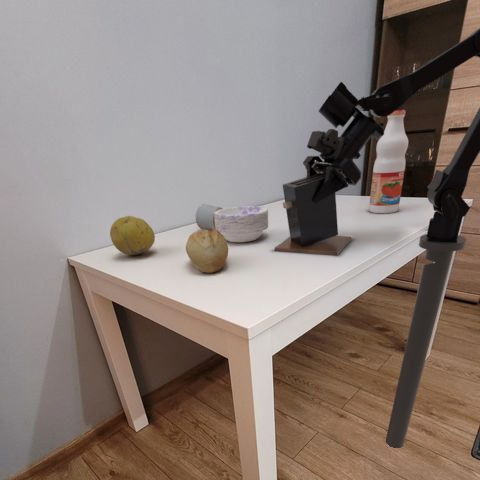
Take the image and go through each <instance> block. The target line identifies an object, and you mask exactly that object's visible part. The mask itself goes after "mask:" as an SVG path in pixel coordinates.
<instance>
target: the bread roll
mask: <svg viewBox="0 0 480 480" xmlns="http://www.w3.org/2000/svg"><path fill="white" fill-rule="evenodd" d="M185 252H186V254H187V256H188V258H189V260H190V262H191V263H192V265H194V267H196V269H198V270H199V271H200V272H203V273H207V274H208V273H215V272H217V271H220V270H221V269H222V268H223V267H224V266H225V263H226V262H227V259H228V255H229V245H228V241H227V240H226V239H225V238H224V236H223V234H222V232H219V231H218V230H216V229H212V228H211V229H210V230H206V229H200V230H197V231H194V232H192V233H191V234H190V235H189V236H188V238H187V241H186V244H185Z"/></svg>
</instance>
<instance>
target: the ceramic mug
mask: <svg viewBox="0 0 480 480" xmlns="http://www.w3.org/2000/svg"><path fill="white" fill-rule="evenodd" d="M221 209H224V207H221V206H217V205H211V204H206V203H205V204H201V205H199V206H198V207H197V209H196V211H195V222H196V225H197V227H198V228H199V229H200V230H203V229H206V230H209V231H210V229H211V228H212V229H216V227H215V216H214V213H215V212H216V211H218V210H221Z"/></svg>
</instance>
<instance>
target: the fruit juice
mask: <svg viewBox="0 0 480 480" xmlns="http://www.w3.org/2000/svg"><path fill="white" fill-rule="evenodd" d="M406 112H407V111H406V109H402V110H401V109H399V110H398V109H397V110H395V111H394V112H393V113H392V114H390V115H388V116H386V117H387V123H386V125H385V128H384V135H383V136H382V137H380V138H379V139H378V140H377V143H376V148H375V151H376V159H375V160H374V164H373V168H372V169H373V170H372V178H371V179H372V180H371V185H370V186H371V187H370V188H371V189H370V195H369V205H368V211H369V212H370V213H374V214H391V213H396V212H398V210H399V208H400V202H401V196H402V190H403V189H402V188H403V183H404V177H405V171H406V153H407V150H408V148H409V138H408V136H407V134H406V131H405V124H404V118H405V117H406V114H407V113H406Z"/></svg>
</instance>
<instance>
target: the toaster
mask: <svg viewBox="0 0 480 480" xmlns="http://www.w3.org/2000/svg"><path fill="white" fill-rule="evenodd" d="M325 178H326V174H324V173H318V174H315V175H311V176H308V177H307V176H306V177H302V178H298V179H296V180H293V181H290V182H286V183H283V184H282V190H283V197H284V202H282V208H283V209H285V211H286V219H287V224H288V231H289V237H290V239H291V241H292V242H294V243H296V244H297V245H299V246H301V247H305V246H308V245H310V244H313V243H316V242H319V241H322V240H325V239H328V238H331V237H334V236H339V228H338V227H339V226H338V225H339V224H338V213H337V211H338V210H337V198H336V192H335V193H333V194H332V195H330V196H328V197H326V198H324V199H323V200H321V201H319V202H317V203H314V202H313V201H312V200H313V198H314V196H315V194H316V193H317V191H318V189H319V188H320V186H321V185H322V183H323V182H324V180H325Z"/></svg>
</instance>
